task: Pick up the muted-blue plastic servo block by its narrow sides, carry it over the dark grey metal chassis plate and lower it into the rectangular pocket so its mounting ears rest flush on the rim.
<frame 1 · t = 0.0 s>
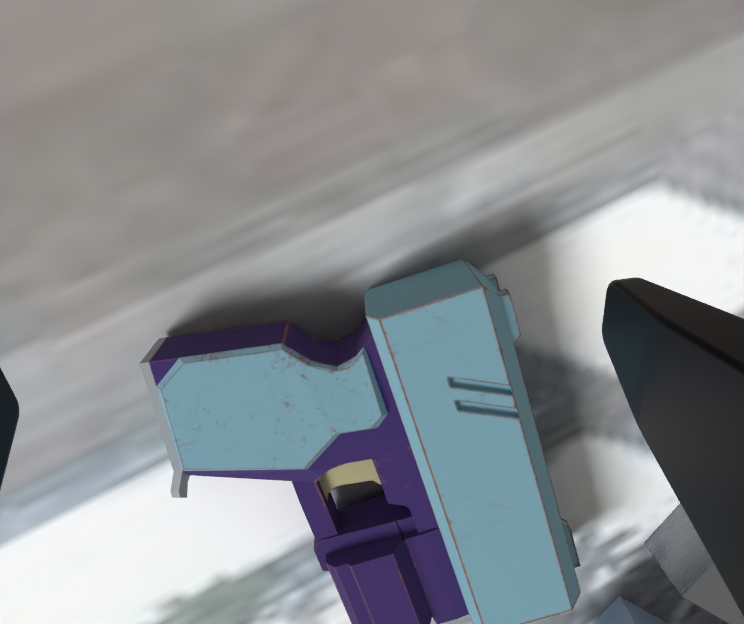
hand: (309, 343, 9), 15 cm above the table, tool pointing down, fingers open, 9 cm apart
pistol: (361, 445, 28), on the table
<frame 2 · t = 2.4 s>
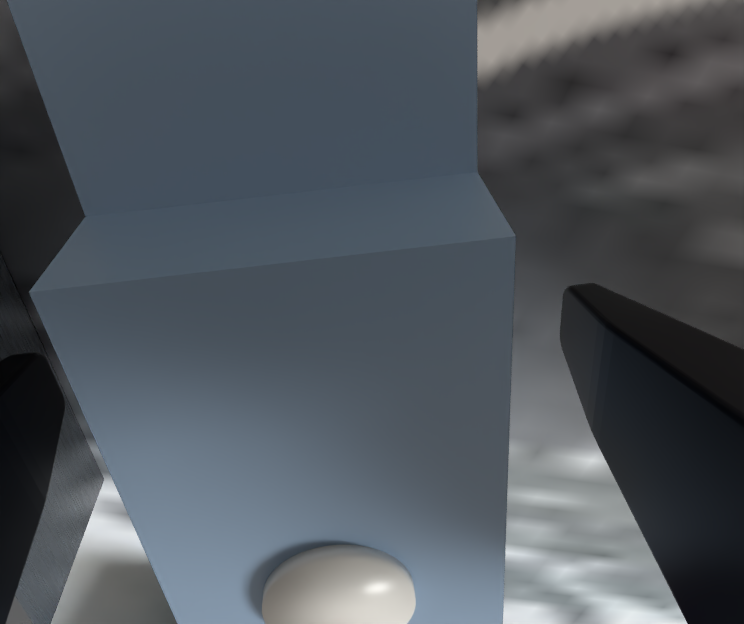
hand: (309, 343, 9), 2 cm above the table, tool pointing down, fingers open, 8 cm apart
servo: (320, 279, 11), on the table
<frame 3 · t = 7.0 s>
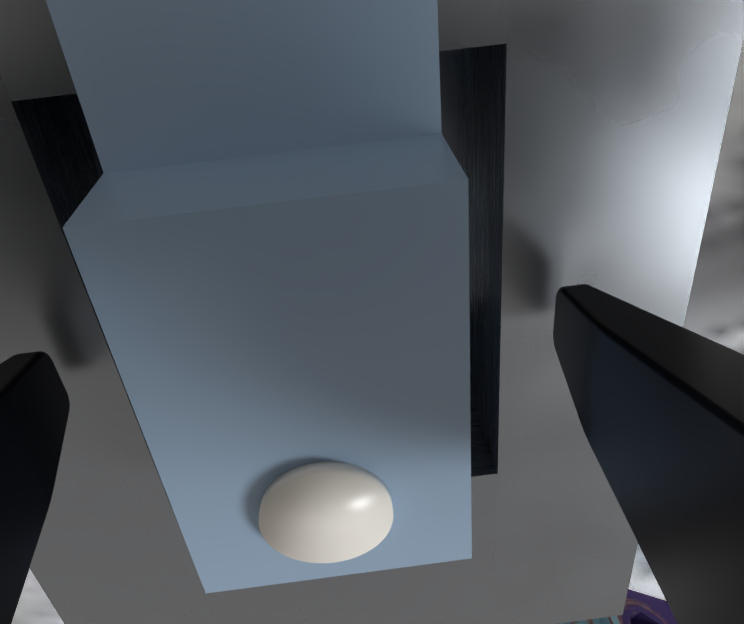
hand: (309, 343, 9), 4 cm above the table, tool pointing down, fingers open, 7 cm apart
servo: (309, 245, 12), point 1 cm above the table, touching chassis
chassis: (307, 231, 13), on the table
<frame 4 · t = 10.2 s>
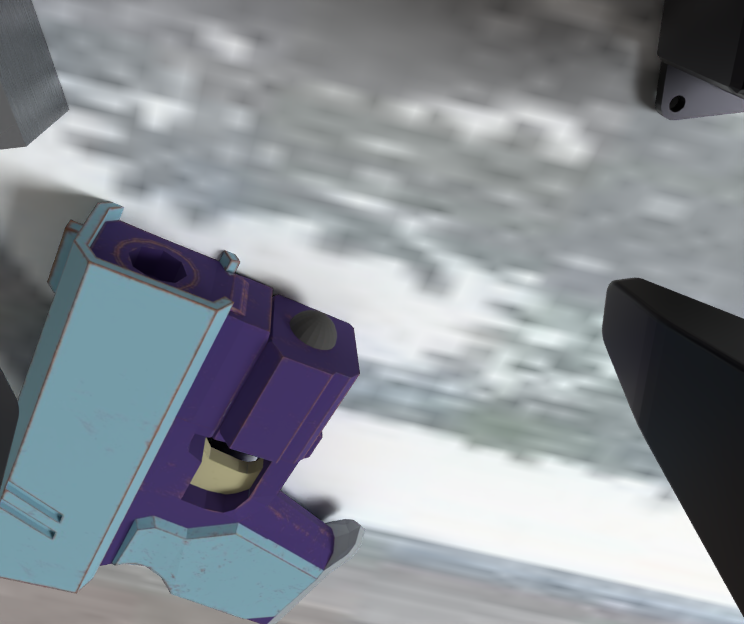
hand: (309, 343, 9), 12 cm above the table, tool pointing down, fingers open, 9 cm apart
pistol: (221, 420, 27), on the table
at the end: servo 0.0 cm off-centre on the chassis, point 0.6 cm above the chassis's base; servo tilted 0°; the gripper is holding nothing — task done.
